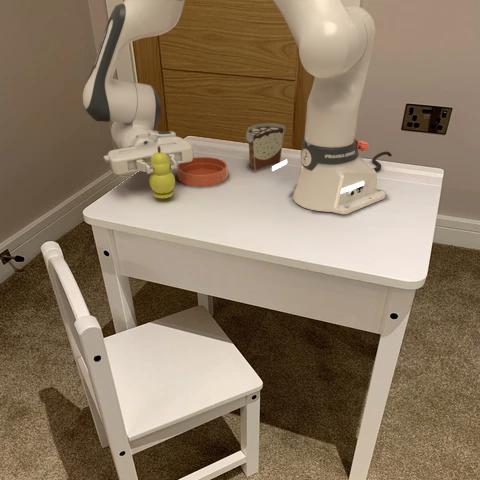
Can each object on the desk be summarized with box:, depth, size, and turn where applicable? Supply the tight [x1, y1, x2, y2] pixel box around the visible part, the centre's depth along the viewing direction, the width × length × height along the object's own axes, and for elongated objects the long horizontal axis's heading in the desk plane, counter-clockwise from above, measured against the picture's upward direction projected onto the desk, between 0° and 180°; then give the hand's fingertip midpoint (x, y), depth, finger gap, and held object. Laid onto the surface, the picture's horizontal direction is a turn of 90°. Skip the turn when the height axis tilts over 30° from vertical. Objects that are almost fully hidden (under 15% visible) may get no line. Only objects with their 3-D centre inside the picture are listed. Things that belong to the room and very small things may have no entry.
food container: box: [245, 122, 287, 172], centre depth 134 cm, size 12×6×10 cm, turn 130°
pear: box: [148, 146, 176, 199], centre depth 114 cm, size 6×6×11 cm
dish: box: [176, 156, 229, 187], centre depth 128 cm, size 13×13×3 cm
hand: (162, 167), depth 112 cm, fingers closed on pear, 4 cm apart
